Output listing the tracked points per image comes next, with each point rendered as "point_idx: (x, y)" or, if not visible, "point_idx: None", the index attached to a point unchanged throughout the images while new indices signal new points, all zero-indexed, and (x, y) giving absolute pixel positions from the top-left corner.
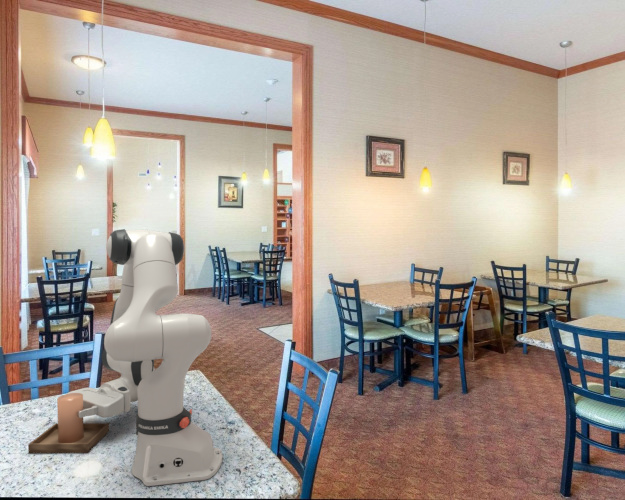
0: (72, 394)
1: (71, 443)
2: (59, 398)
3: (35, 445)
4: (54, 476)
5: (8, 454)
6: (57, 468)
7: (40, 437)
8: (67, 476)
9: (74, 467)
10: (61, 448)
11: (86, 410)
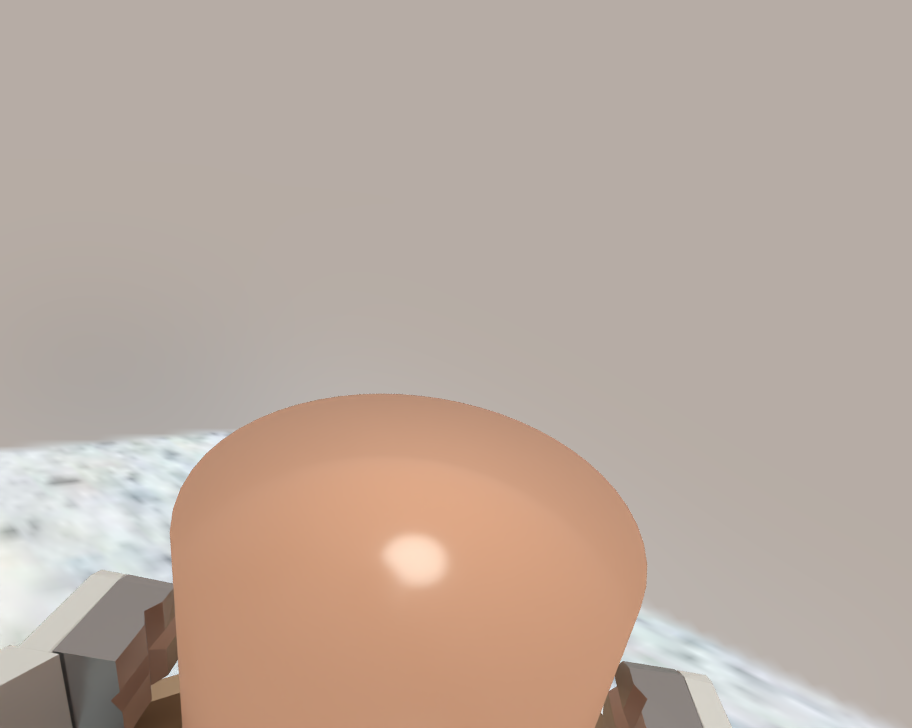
0: (519, 582)
1: None
2: (523, 438)
3: None
4: (138, 515)
5: None
6: (168, 563)
7: None
8: (54, 527)
9: (46, 594)
10: None
11: (8, 655)
